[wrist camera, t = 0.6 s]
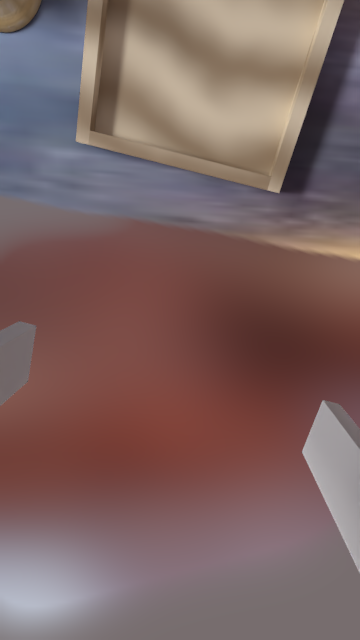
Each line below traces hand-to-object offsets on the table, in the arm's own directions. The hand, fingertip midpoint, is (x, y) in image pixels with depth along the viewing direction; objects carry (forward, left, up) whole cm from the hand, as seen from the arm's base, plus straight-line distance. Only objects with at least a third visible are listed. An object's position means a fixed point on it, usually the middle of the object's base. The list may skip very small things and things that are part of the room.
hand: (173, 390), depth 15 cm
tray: (-13, -13, -26) cm, 32 cm away
